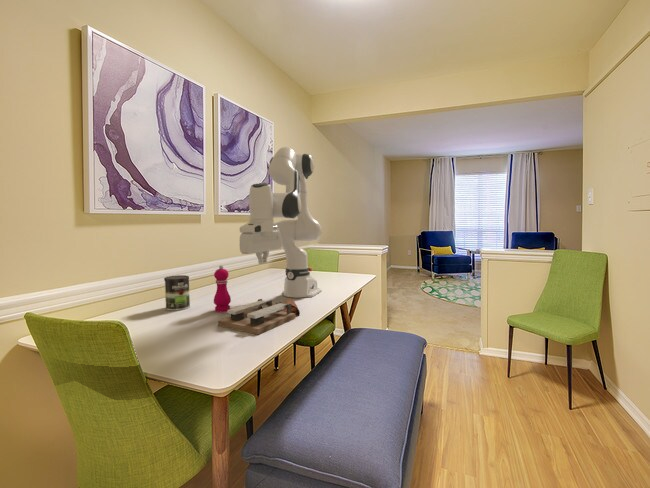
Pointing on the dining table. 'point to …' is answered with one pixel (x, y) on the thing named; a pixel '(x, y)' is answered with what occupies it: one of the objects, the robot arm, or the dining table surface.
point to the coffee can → (177, 292)
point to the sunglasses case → (293, 307)
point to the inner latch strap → (247, 307)
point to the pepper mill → (221, 290)
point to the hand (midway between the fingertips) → (262, 263)
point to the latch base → (257, 328)
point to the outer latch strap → (266, 310)
